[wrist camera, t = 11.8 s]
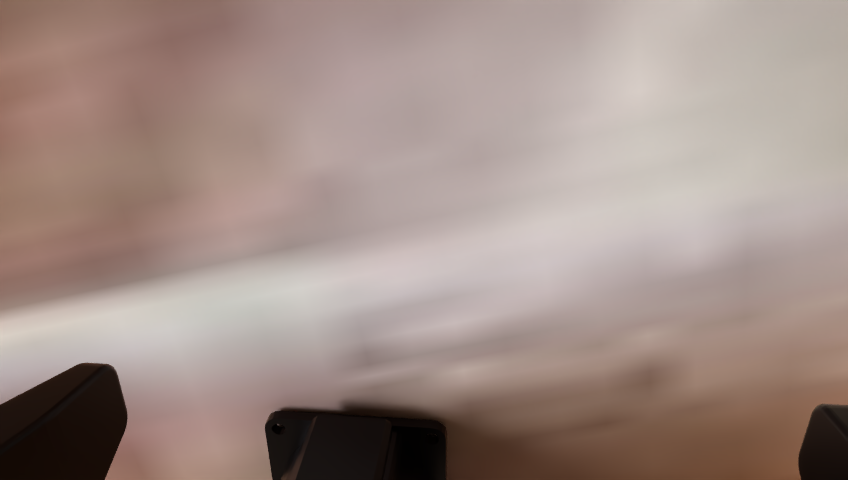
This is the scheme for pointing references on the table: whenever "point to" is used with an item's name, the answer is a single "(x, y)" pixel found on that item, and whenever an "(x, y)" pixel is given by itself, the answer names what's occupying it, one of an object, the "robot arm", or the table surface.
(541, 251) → the table surface
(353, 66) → the table surface
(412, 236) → the table surface
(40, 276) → the table surface
